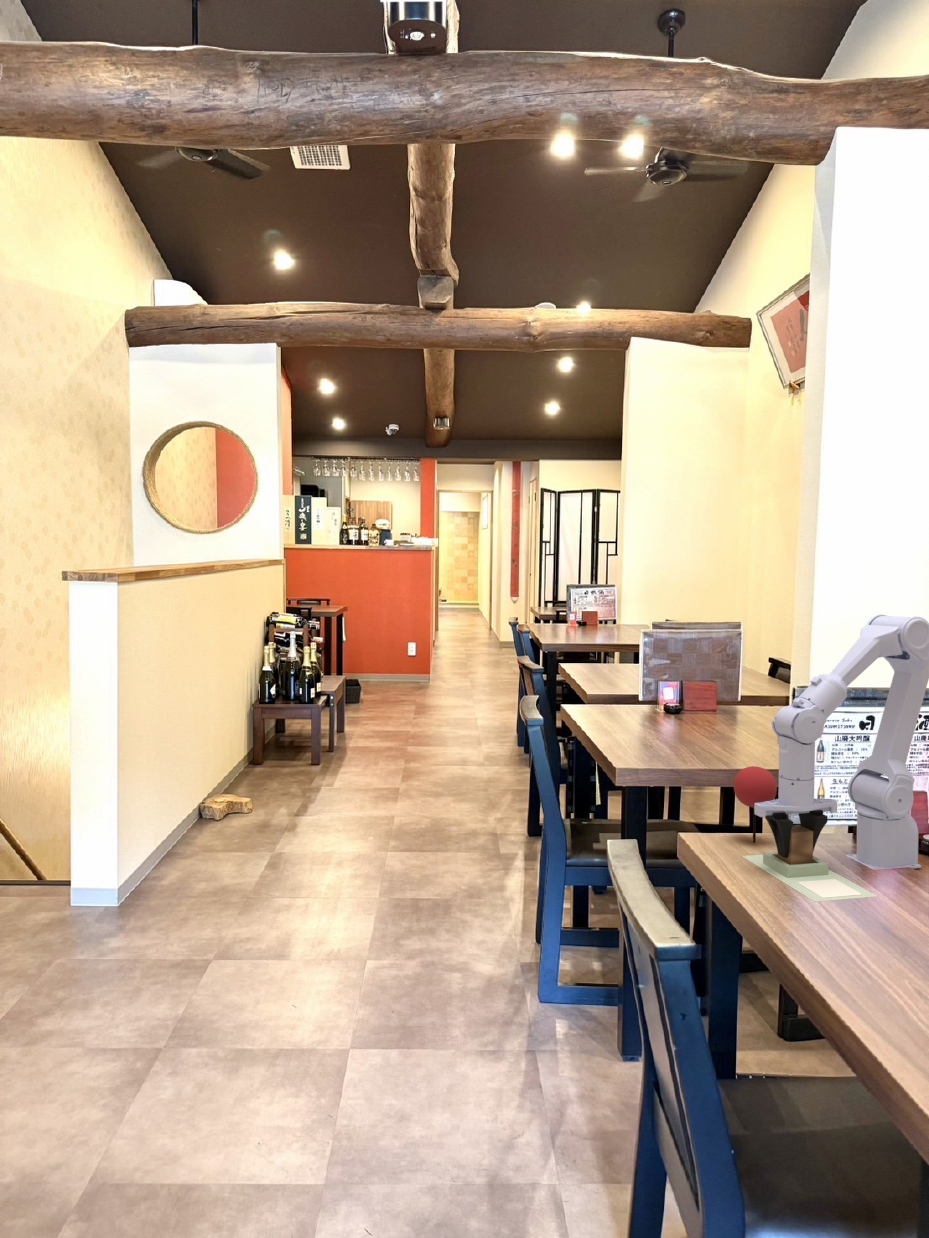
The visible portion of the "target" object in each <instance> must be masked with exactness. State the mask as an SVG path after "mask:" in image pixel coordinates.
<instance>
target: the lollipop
mask: <svg viewBox="0 0 929 1238" xmlns="http://www.w3.org/2000/svg"><path fill="white" fill-rule="evenodd" d="M733 790H734V791H733V792H734V794H735V797H736V798H737V800H738V801H739V802H740V803H741V804H742V805H745V806H746V807H749V808H753V809H752V810H753V811H752V818H753V820H752V843H753V844H756V837H757V836H756V835H757V832H756V831H757V829H756V828H757V815H755V814H754V804H755V803H761V802H766V801H771V800H775V799H776V796H777V792H778V791H777V790H778V787H777V782H776V779H775V776H774V775H773V773H771V771H770V770H768V769H766V768H763V767H760V766H754V765H753V766H746V767H744V768H742V769H741V770H739V771H738V772H737V773H736V775H735V777H734V780H733Z"/></svg>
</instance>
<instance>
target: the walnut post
mask: <svg viewBox="0 0 929 1238" xmlns="http://www.w3.org/2000/svg"><path fill="white" fill-rule="evenodd" d="M813 856H814V851H813V831H811V830H809V829H807V828H805V827H803V826H801V824H793V825H792V829H791V833H790V839H789V855H788V858H784V857H782V856H780V855H778V859H780V860H782V861H784V862H785V863H787V864H789V865H797V864H810V863H813Z"/></svg>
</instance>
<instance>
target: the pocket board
mask: <svg viewBox="0 0 929 1238" xmlns="http://www.w3.org/2000/svg"><path fill="white" fill-rule="evenodd" d="M741 856H742V858H744V859H746V860H747V861H749V862H750V863H752V864H754V865H755V866H756V867H758V868H760V869H761V870H764V872H766V873H767V874H769V875H771V876H773V877H774V878H775V879H777V880H779V881H781V882H782V883H784V884H785V885H787V886H789V887H791V888H792V889H794V890H795V891H796V892H798V893H800V894H801V895H803V896H805V897H806V898H808V899H809V900H811V901H813V902H814V903H818V902H819V903H820V902H829V901H830V902H832V901H841V900H854V899H867V898H878V897H879V895H876V894H874V893H873V892H871V891H869V890H867V889H866V888H863V887H862V886H861V885H858V884H856V883H854V882H853V881H851V880H849V879H847V878H845V877H843V876H842V875H840V874H838V873H836V872H834V871H832V870H831V869H829V865H830V864H829V863H828V862H825V861H823V860H821V859H820V858H818V857H816V856H814V855H813V863H810V864H797V865H789V864H787V863H785V862H784V861H782V860H780V859H778V851H773V852H763V854H754V855H741Z"/></svg>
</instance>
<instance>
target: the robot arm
mask: <svg viewBox="0 0 929 1238" xmlns="http://www.w3.org/2000/svg"><path fill="white" fill-rule="evenodd" d="M859 635H860V636H859V637H858V639H857V640H856V641H855V642H854V644H853V645H852V646H851V648H850V649H849V650H848V651H847V652H846V654H845V655H844V656H843V657H842V659H841V660H840V661H839V662H838V663H837V664H836V666H835V667H834V669H832V671H831V672H830V673H829V674H819V675H818V676H813V678H811V680H810V681H809V682H810V685H808V686H807V687H806V688H805V689H804V691H803V692H802V693H801V694H799V696H798V697H795V698H794V699H793V700H792V703H791V705H786V706H783V707H782V708H780V709H779V710H778V711H777V712H776V713H775V716H774V719H773V720H772V721H771V728H772V730H773V732H774V734H775V736H776V737H777V745H778V789H777V790H778V791H777V792H778V798H775V799H774V800H771V801H766V802H761V803H755V804H754V814H755V815H756V817H757V816H758V817H760V818H765V820H766V821H767V824H768V825H769V827H770V830H771V833H772V835H773V838H774V841H775V844H776V850H777V852H778V855H780V856H782V857H784V858H788V855H789V839H790V833H791V829H792V825H794V821H793V820H792V819H789V816H788V815H794V814H797V815H798V817H799V823H800V824H799V825H801V826H803V827H805V828H807V829H809V830H811V831H813V852H814V851H815V848H816V844H817V841H818V839H819V837H820V834H821V833H822V830H823V829H824V828H825V826H826V824H827V823H828V821H829V820H828V818H829V817H828V815H825V814H824V813H828V812H829V813H838V801H837V800H836V799H835V800H834V799H832V798H815V772H816V771H815V767H816V766H815V764H816V761H815V760H816V741H817V740H818V739H820V738H822V735H823V733H824V728H825V727H824V726H825V723H827V720H828V718H829V717H830V716H831V715H832V714H833V713H834V712H835V711H836V710H837V709H838V707H840V705H841V704H842V703H843V702H844V701H845V700H846V699H847V697H848V691H847V690H848V689H847V688H848V687H849V685H850V684H851V683H852V682H854V681H856V679H857V678H858V677H859V676H861V675H862V674H863V672H865V671H866V669H868V668H869V667H870V666H871V665H872V664H874V662H876V661H877V659H880V658H883V659H885V661H887V662H888V663H889V665H890V667H891V668H892V669H893V672H894V673H893V676H892V679H891V683H890V686H889V690H888V695H887V698H886V700H885V701H886V702H885V704H884V708H883V709H884V710H883V712H882V715H881V719H880V724H879V727H878V730H877V734H876V738H875V742H874V744H873V747H872V748H873V749H872V752H871V755H870V756H868V757H867V758H865V759H863V760H862V761H860V762H859V763H858V766H857V769H856V772H855V773H854V774H853V776H852V777H851V778H850V779H849V782H848V786H847V794H848V797H849V799H850V801H852V802H853V804H854V810H856V812H857V813H856V853H850V854H848V853H847V854H845V856H846V857H847V858H849V859H852V860H853V861H855V862H857V863H860V864H861V865H863V866H866V867H867V868H869V869H871V870H878V871H879V870H887V869H888V870H889V869H901V868H904V869H905V868H911V869H913V870H914V869H921V868H922V865H921V864H920V863H918V861H919V828H918V824H917V822H916V821H915V819H914V817H912V815H911V814H909V813H910V811H911V810H912V808H913V805H914V800H915V799H914V784H915V781H916V780H915V777H914V776H913V774H912V773H911V772H910V770H909V769H908V767H907V766H906V763H907V759H908V755H909V753H910V749H911V745H912V741H913V739H914V734H915V731H916V730H915V729H916V726H917V723H918V719H919V715H920V712H921V708H922V705H923V701H924V697H925V695H926V690H927V686H928V683H929V621H927V620H926V619H925V618H923V617H921V616H897V615H896V616H895V615H894V616H893V615H886V614H885V615H884V614H878V615H877V614H876V615H874V616H873V617H870V619H869V620H868V622H867V623H866V624H865V625H864V626H862V628H861V629H860V634H859ZM884 775H885V776H886V777H884Z"/></svg>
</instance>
